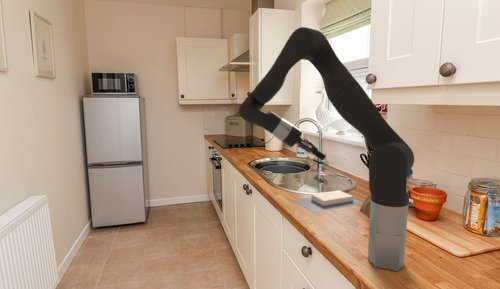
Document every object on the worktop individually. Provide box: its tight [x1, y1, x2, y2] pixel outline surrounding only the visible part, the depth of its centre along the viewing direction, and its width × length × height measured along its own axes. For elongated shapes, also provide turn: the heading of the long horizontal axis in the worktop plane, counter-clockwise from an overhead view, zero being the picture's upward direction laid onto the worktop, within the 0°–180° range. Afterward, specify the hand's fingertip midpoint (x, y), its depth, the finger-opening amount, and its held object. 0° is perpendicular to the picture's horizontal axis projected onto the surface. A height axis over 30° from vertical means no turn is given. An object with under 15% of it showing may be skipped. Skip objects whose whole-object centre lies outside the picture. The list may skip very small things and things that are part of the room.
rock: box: [359, 193, 371, 219], centre depth 112 cm, size 11×9×10 cm
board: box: [292, 196, 365, 213], centre depth 128 cm, size 26×16×1 cm, turn 113°
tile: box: [311, 190, 354, 207], centre depth 128 cm, size 2×9×15 cm
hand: (323, 158), depth 113 cm, fingers closed
